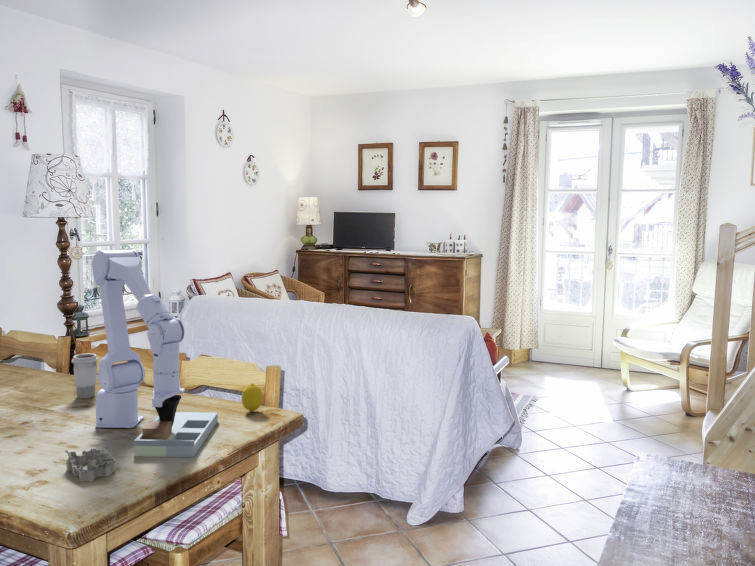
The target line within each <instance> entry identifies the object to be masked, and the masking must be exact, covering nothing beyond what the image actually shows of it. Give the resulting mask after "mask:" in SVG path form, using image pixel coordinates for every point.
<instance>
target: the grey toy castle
mask: <svg viewBox="0 0 755 566" xmlns="http://www.w3.org/2000/svg"><path fill="white" fill-rule="evenodd" d="M64 453H66V454H67V456H68V458H67V459H66V463H65V464H66V469H67V471H69V472H72V475H73V476H74V477H78V480H79V481H80V482H85V481H86V482H92V481H94V480H95V478H98V477H109V476H111V475H112V473H115V459H116V457H114V456H113V455H112V453H109V452H108V451H107V450H106V449H105V448H104V447H103V446H100V447H97V448H93V449H92V448H90V449H89V450H88V451H87V450H83V451H82V452H81V454H78V455H77V454H76V451H74V450H73V451H68V449H65V451H64Z"/></svg>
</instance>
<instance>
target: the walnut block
mask: <svg viewBox="0 0 755 566" xmlns="http://www.w3.org/2000/svg"><path fill="white" fill-rule="evenodd" d="M141 433H142V439H159V440H167V439H168V438H169V436H170V435H171V434H172V421H154V420H149V421H148V422H147V423H146V424H145V425H144V426H143V427H142V430H141Z"/></svg>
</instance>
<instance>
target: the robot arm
mask: <svg viewBox="0 0 755 566" xmlns="http://www.w3.org/2000/svg"><path fill="white" fill-rule="evenodd" d="M142 265H143V262H142V258H141V257H140V254H139V252H138V251H137V250H136V249H128V250H127V249H122V250H101V249H99V250H97V251H96V252H95V254H94V255H93V258H92V260H91V268H92V275H93V279H94V285H95V286H98V288H99V294H100V300H101V301H100V303H101V308H102V316H103V323H104V330H105V337H106V343H107V351H108V352H107V353H106V354H105V355H104V356H103V357H102V358H101V359H100V360H98V373H97V374H98V375H97V378H98V379H97V380H98V384H99V386H100V389H99V390H98V391H97V394H96V395H95V396H96V398H95V425H94V428H105V429H106V428H110V429H111V428H112V429H114V428H115V429H116V428H117V429H124V428H125V429H133V428H135V426H137V425H138V424H139V422H141V421H142V420H143V419H144V417H145V416H144V415H139V404H138V401H139V399H138V396H139V395H138V393H139V392H138V389H139V388H141V384H143V382H144V380H145V377H146V370H145V366H144V365H143V362H142V358H141V355H140V354H139V353H137V352H135V351H134V350H132V349H131V345H130V338H129V332H128V331H129V330H128V323H127V317H126V310H125V303H124V296H123V287H124V286H125V285H126V287H127V288H128V289H129V291H130V292H131V293H132V295H133V296H134V297H135V299H136V300H137V305H136V310H137V312H138V313H139V315H140V317H141V318H142V320H143V322H144V323H145V325H146V327H147V328H148V330H147V332H146V335H147V340H148V342H149V346H150V351H151V353H152V356H153V357H152V363H153V364H152V365H153V367H152V368H153V369H152V370H153V371H152V372H153V373H152V374H153V390H152V398H151V402H152V403H151V407H152V408H154V409H155V411H156V412H157V416H159V419H160V421H172V426H173V423H174V418H175V413H176V412H177V408H178V406H179V403H180V402H181V399H182V395H181V394H184V393H185V392H186V389H185V388H181V380H180V343H181V342H182V341H183V340H184V339H185V327H184V325H183V322H182V320H181V319H180V318H179V317H175V315H173V314H172V315H171V314H170V312H169V310H168V308H167V307H166V305H165V304H164V302H163V301H162V299H161V297H160V296H159V295H157V294H153V293H152V291H151V289H150V287H149V284H148V282H147V280H146V279H145V276H144V274H143V273H142Z"/></svg>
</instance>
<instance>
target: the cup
mask: <svg viewBox="0 0 755 566" xmlns="http://www.w3.org/2000/svg"><path fill="white" fill-rule="evenodd" d="M98 361H99V357H98V356H97V354H96V353H87V352H86V353H78V354H75V355H73V357H72V359H71V363H72V365H73V367H72V368H73V377H74V384H75V389H76V390H75V391H76V397H77V399H85V400H86V399H90V398H95V396H96V384H97V374H98V373H97V370H98V364H97V362H98Z"/></svg>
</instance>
